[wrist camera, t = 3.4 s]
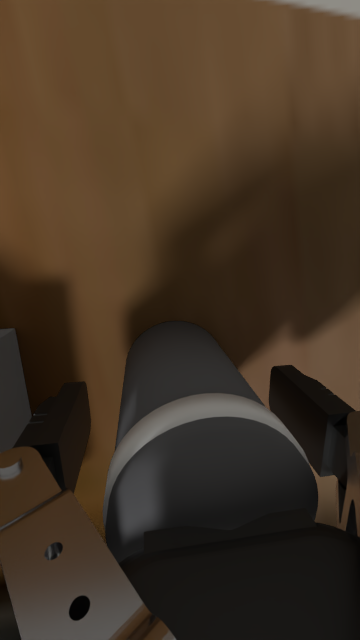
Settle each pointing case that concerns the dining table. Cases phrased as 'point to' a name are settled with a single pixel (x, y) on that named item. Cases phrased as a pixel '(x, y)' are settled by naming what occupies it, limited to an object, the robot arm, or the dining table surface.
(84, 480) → the dining table surface
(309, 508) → the lens
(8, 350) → the mount block
